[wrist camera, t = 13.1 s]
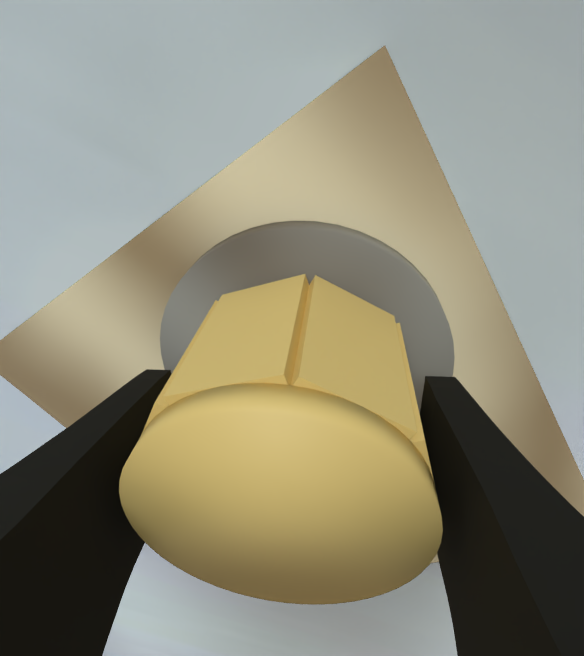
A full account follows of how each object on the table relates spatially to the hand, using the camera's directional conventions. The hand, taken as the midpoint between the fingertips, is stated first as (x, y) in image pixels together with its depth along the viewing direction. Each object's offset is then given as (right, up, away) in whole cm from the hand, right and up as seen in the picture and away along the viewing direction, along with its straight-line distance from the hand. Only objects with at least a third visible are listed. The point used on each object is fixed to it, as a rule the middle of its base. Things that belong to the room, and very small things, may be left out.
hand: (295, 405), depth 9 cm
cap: (0, +1, +1) cm, 1 cm away
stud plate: (0, -2, +4) cm, 5 cm away
